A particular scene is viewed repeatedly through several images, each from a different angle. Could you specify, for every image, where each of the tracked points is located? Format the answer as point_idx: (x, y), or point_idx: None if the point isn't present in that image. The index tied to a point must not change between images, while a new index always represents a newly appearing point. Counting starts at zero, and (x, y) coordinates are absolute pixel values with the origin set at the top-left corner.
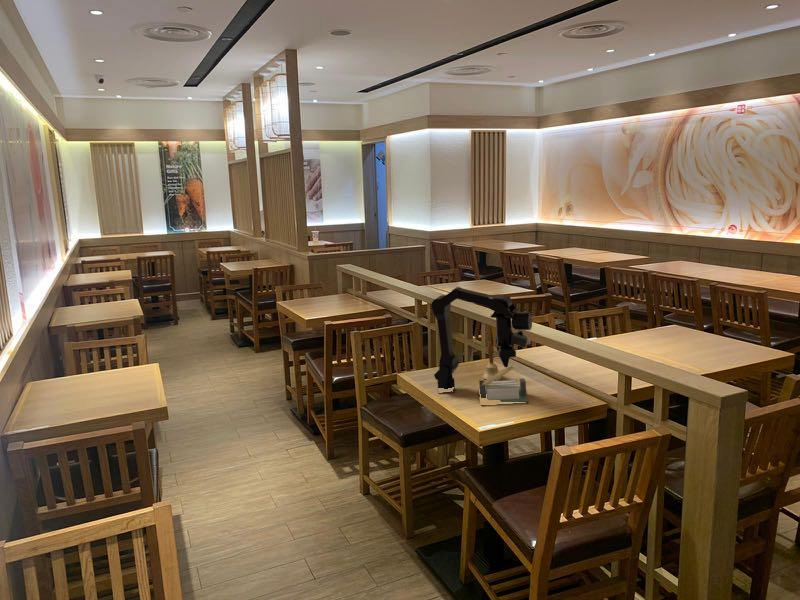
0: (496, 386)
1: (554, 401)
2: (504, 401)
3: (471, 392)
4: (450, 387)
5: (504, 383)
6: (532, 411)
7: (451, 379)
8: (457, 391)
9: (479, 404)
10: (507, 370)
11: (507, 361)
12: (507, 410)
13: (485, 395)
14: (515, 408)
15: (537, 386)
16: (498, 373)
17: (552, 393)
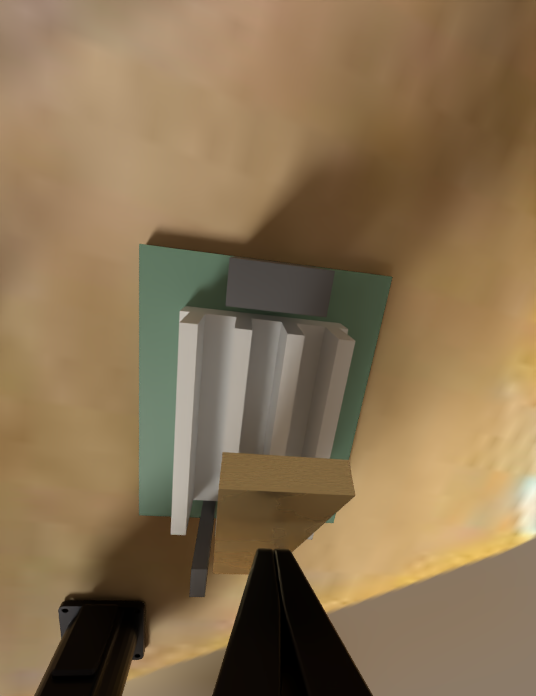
0: None
1: (422, 76)
2: (349, 412)
3: (152, 532)
4: (121, 638)
5: (193, 410)
6: (494, 281)
7: (95, 693)
8: (127, 585)
9: None
10: (322, 520)
11: (359, 693)
12: (425, 405)
13: None
14: (419, 362)
15: (115, 114)
16: (237, 546)
17: (280, 31)
